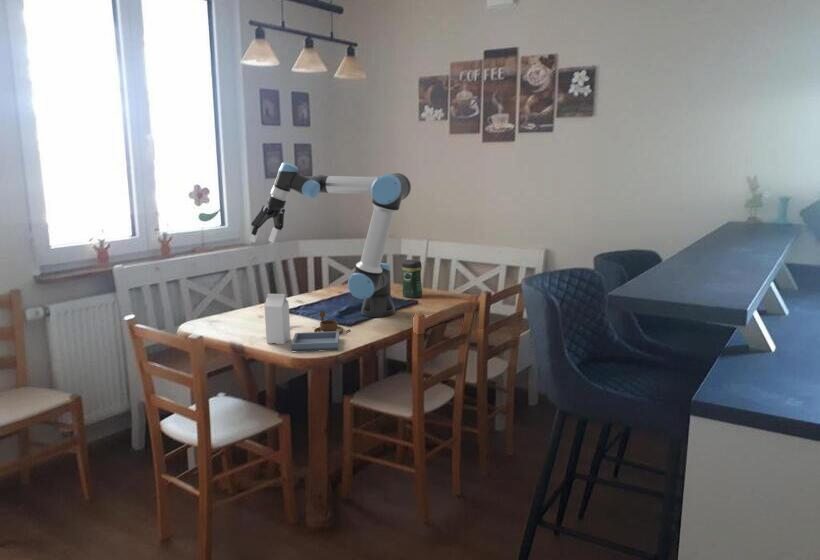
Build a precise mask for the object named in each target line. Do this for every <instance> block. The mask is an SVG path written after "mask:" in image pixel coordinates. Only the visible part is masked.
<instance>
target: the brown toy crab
mask: <svg viewBox="0 0 820 560" xmlns="http://www.w3.org/2000/svg"><path fill="white" fill-rule="evenodd" d="M318 316H319V318H320V319H321V320H320V322H319V327H313V329H314V330H313V332H320V331H321V332H332V331H337V330H338V331H339V335H341V334H343V332H344V327H342V326H339V325H338V321H337V320H334V319H327V320H326V319H325V320H324V318H325V316H326V312H325V310H319V311H318ZM348 333H351V329H346V331H345V335H347V334H348Z"/></svg>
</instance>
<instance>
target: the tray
mask: <svg viewBox="0 0 820 560" xmlns="http://www.w3.org/2000/svg"><path fill="white" fill-rule="evenodd" d="M339 332H340V330H335V331H332V332H323V331H317V332H314V331H312V332H311V331H310V332H295V333H294V336H293V339H292V342H291V352H292V351H306V352H320V351H319V350H330V351H338V350H339V343H340V342H339V341H340V334H339Z"/></svg>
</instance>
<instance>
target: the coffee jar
mask: <svg viewBox="0 0 820 560" xmlns="http://www.w3.org/2000/svg"><path fill="white" fill-rule="evenodd" d="M422 268H423V267H422V262H421V261H420V260H415V259H405V260H402V265H401V271H402V275H403V277H402V296H403V297H406V298H409V299H410V298H411V299H414V298H421V296H423V287H422V276H421V275H422V273H421V272H422Z"/></svg>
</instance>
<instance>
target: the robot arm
mask: <svg viewBox="0 0 820 560" xmlns="http://www.w3.org/2000/svg"><path fill="white" fill-rule="evenodd" d="M298 171H299V167H298V166H296V165H295V164H294V165H293V164H291V163H289V162H284V161H283V162H281V164H280V167H279V168H278V171H277V175H276V177H275V180H274V183H273V186H272V188H271V190H270V194H269V196H268V199H267V204H268V205H267V206H265V205H262V207H261V209H260V211H259V212H258V214H257V215H256V217H254V219H253V221H252V222H251V223H250V225H251V226H252V227H253V229H252V232H251V235H250V238H249V241H250V242H251V243H256V242H257V238H258V236H259V234H260V230H261V229H260V228H261V227H262V226H263V225H264V224H265V223H266V222H267V221H268V220H269V219H271V218H272V219H273V224H274V227H272V229H271V232H270V235H269V237H268V240H267V241H269V242H270V243H272V244H274V243H275V241H276V239H277V235H278V234H279V231H282V229H283V228H284V219H285V218H284V217H285V212H286V209H285V206H286V202H287V200H288V198H289V195H290V192H291V190H292V191H295V192H296V193H299V194H301V195H302V196H304V197H306V198H310V199H315V198H316V197H317V196H319V195H318V194H320V193H322V194H348V195H349V194H351V195H352V194H353V195H354V194H355V195H356V194H357V195H371V196H372V199H371V204H372V207H373V212H372V214H371V215H372V216H371V219H370V223H369V227H368V231H367V235H366V238H365V242H364V246H363V250H362V255H361V258H360V261H358V262H357V263H355V266H354V271H353V273H352V274H350V276H349V278H348V281H347V289H348V290H349V292H350V294H351V295H352V296H353V297H354V298H356V299H359V300H363V302H362V305H361V315H362V314H363V316H364V315H365V317H369V318H370V317H371V318H384V317H390V316H392V315H394V314H395V313H396V308H395V304H394V302H393V298H392V296H391V266H390V264H389V263H385V262H384V263H383V262H382V261H383V260H382V259H383V256H384V253H385V249H386V245H387V242H388V237H389V233H390V230H391V227H392V223H393V220H394V219H393V218H394V215H395V213H397V212H398V211H400V207H401V203H402V201H403V200H405V199H406V198H408V196H409V195H410V193H411V190H412V184H411V181H410V180H409V178H408V176H406V175H404V174H402V173H398V172H396V173H394V172H393V173H386V174H384V173H383V175H382V174H381V175H380V176H349V175H347V176H345V175H344V176H343V175H341V176H340V175H322V174H319V175H313V176H305V175H303V174H301V173H300V172H298Z"/></svg>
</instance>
